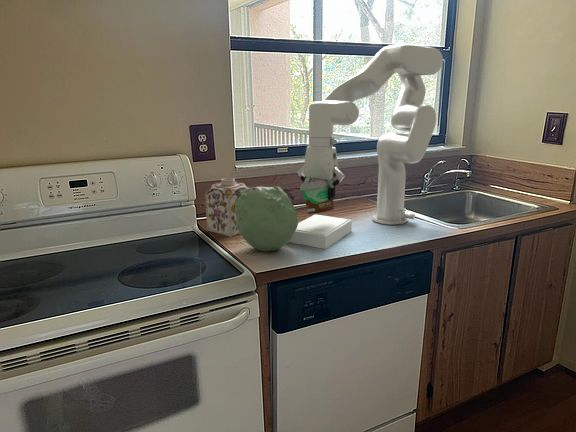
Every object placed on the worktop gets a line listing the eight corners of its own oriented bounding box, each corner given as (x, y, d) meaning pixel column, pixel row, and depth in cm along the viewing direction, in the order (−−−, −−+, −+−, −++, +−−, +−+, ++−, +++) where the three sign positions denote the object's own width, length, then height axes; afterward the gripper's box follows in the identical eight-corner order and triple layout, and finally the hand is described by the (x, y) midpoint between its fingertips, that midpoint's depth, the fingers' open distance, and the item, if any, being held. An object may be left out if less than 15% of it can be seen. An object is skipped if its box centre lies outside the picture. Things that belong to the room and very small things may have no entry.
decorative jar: (206, 231, 156) (203, 179, 151) (229, 223, 165) (227, 174, 160) (231, 237, 149) (228, 184, 144) (254, 228, 158) (253, 178, 153)
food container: (316, 214, 139) (310, 182, 138) (304, 214, 144) (299, 184, 143) (345, 206, 146) (340, 176, 145) (333, 207, 151) (328, 177, 150)
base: (351, 231, 154) (351, 219, 153) (325, 248, 138) (325, 235, 137) (314, 225, 161) (315, 213, 160) (286, 241, 145) (285, 228, 143)
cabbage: (305, 254, 133) (305, 188, 127) (241, 262, 128) (239, 193, 122) (289, 238, 147) (289, 178, 142) (232, 244, 142) (229, 182, 137)
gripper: (351, 143, 140) (349, 198, 145) (302, 139, 148) (301, 192, 153) (341, 145, 134) (339, 203, 138) (290, 142, 142) (290, 197, 147)
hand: (319, 197), depth 146 cm, fingers closed on food container, 7 cm apart
